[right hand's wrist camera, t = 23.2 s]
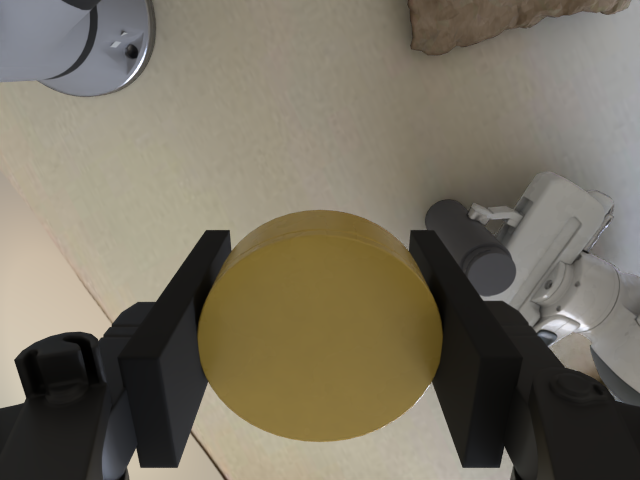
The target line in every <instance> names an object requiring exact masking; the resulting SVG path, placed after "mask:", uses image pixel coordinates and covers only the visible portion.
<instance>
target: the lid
mask: <svg viewBox="0 0 640 480" xmlns="http://www.w3.org/2000/svg"><path fill="white" fill-rule="evenodd" d="M197 340H198V348H199V356H200V363H201V366H202V368H203V371H204V374H205V376H206V378H207V380H208V382H209V384H210V385H211V387H212V389H213V390H214V391H215V393H216V394H217V395H218V397H219V398H220V399H221V400H222V401H223V402H224V403H225V405H226V406H227V407H228V408H229V409H231V410H232V411H233V412H234V413H236V414H237V415H238V416H239V417H241V418H242V419H244V420H245V421H247V422H248V423H250V424H252V425H254V426H256V427H258V428H260V429H262V430H264V431H266V432H269V433H272V434H275V435H277V436H281V437H285V438H289V439H294V440H301V441H311V442H329V441H339V440H346V439H351V438H355V437H359V436H363V435H366V434H368V433H371V432H374V431H376V430H378V429H380V428H382V427H384V426H386V425H388V424H390V423H392V422H393V421H395V420H396V419H398V418H399V417H401V416H402V415H403V414H405V413H406V412H407V411H408V410H409V409H411V408H412V407H413V406H414V405H415V404H416V403H417V401H418V400H419V399H420V398H421V397H422V396H423V394H424V393H425V392H426V390H427V389H428V387H429V386H430V384H431V382H432V380H433V378H434V377H435V374H436V372H437V369H438V366H439V363H440V357H441V350H442V341H443V328H442V321H441V317H440V313H439V309H438V307H437V304H436V302H435V300H434V298H433V296H432V293H431V291H430V289H429V287H428V285H427V283H426V281H425V279H424V277H423V275H422V273H421V271H420V269H419V267H418V265H417V263H416V262H415V260H414V258H413V257H412V255H411V254H410V252H409V251H408V250H407V249H406V248H405V246H404V245H403V244H402V243H401V242H400V241H399V240H398V239H397V238H396V237H394V236H393V235H392V234H391V233H390V232H388V231H387V230H385V229H384V228H382V227H381V226H379V225H377V224H375V223H373V222H371V221H369V220H367V219H365V218H362V217H359V216H356V215H353V214H349V213H344V212H339V211H329V210H311V211H302V212H296V213H291V214H288V215H285V216H281V217H278V218H275V219H273V220H271V221H269V222H267V223H265V224H263V225H261V226H260V227H258V228H257V229H255V230H253V231H252V232H250V233H249V234H248V235H247V236H246V237H245V238H243V239H242V240H241V241H240V242H239V243H238V244H237V245H236V247H235V248H234V249H233V250H232V251H231V253H230V254H229V256H228V257H227V259H226V260H225V262H224V264H223V266H222V268H221V270H220V272H219V274H218V276H217V278H216V280H215V282H214V284H213V286H212V288H211V290H210V292H209V294H208V296H207V298H206V301H205V303H204V305H203V307H202V311H201V314H200V318H199V321H198V330H197Z"/></svg>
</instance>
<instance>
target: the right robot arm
mask: <svg viewBox="0 0 640 480" xmlns="http://www.w3.org/2000/svg"><path fill="white" fill-rule="evenodd" d="M155 33H156V23H155V14H154V8H153V4H152V0H0V82H13V81H32V80H36V81H38V82H40V83H42V84H44V85H45V86H47V87H49V88H51V89H53V90H56V91H58V92H61V93H64V94H67V95H72V96H80V97H92V96H100V95H107V94H111V93H114V92H117V91H119V90H121V89H123V88H125V87H127V86H128V85H130V84H131V83H132V82H133V81H135V80H136V79H137V78H138V77H139V75H140V74H141V73H142V72H143V70H144V69H145V67H146V65H147V64H148V61H149V59H150V57H151V54H152V51H153V47H154V42H155ZM409 252H410V254H411V255H412V257H413V258H414V260H415V262H416V263H417V265H418V267H419V269H420V271H421V273H422V275H423V277H424V279H425V281H426V283H427V285H428V287H429V289H430V291H431V293H432V296H433V298H434V300H435V302H436V304H437V307H438V309H439V313H440V317H441V321H442V328H443V341H442V350H441V357H440V363H439V366H438V369H437V372H436V374H435V377H434V378H433V380H432V383H433V386H434V388H435V391H436V394H437V397H438V400H439V402H440V405H441V408H442V411H443V414H444V417H445V419H446V422H447V425H448V428H449V431H450V433H451V436H452V439H453V442H454V445H455V447H456V450H457V453H458V456H459V459H460V462H461V464H462V467H463V468H500V464H501V459H502V455H503V450H504V446H505V448H506V450H507V452H508V454H509V457H510V459H511V461H512V463H513V470H512V474H511V478H510V480H640V406H635V405H630V404H625V403H622V402H618V401H615V399H614V397H613V396H612V395H611V393H610V392H609V391H608V389H607V388H606V387H605V386H603V385H602V384H601V383H599V382H598V381H597V380H595V379H594V378H592V377H590V376H588V375H586V374H583V373H581V372H579V371H575V370H571V369H568V368H565V367H564V366H563V365H562V363H561V362H560V361H559V360H558V358H557V357H556V356H555V355H554V353H553V352H552V351H551V350H550V349H549V347H548V346H547V345H546V344H545V342H544V341H543V340H542V339H541V338H540V336H537V333H536V331H535V330H534V329H533V328H532V326H529V323H528V322H527V320H526V319H525V318H524V317H523V315H522V314H521V313H520V312H519V311H518V310H516V309H515V308H513V307H512V306H510V305H509V304H507V303H505V302H504V301H483V299H482V298H481V297H480V295H479V294H478V292H477V291H476V289H475V288H474V287H473V285H472V284H471V282H470V281H469V279H468V278H467V276H466V275H465V274H464V272H463V271H462V269H461V268H460V266H459V265H458V264H457V262H456V261H455V259H454V258H453V256H452V255H451V254H450V252H449V251H448V249H447V248H446V246H445V245H444V244H443V242H442V241H441V239H440V238H439V236H438V235H437V234H436V232H435V231H434V230H411V232H410V244H409ZM230 253H231V241H230V230H206V231H205V232H204V234H203V235H202V237H201V238H200V240H199V241H198V243H197V244H196V245H195V247H194V248H193V250H192V251H191V253H190V254H189V255H188V257H187V258H186V260H185V261H184V263H183V264H182V265H181V267H180V268H179V270H178V271H177V273H176V274H175V275H174V277H173V278H172V280H171V281H170V283H169V284H168V285H167V287H166V288H165V290H164V291H163V293H162V294H161V296H160V297H159V298H158V300H157V301H156V302H137V303H136V304H134V305H133V306H131V307H129V308H128V309H126V310H125V311H123V312H122V313H121V314H120V315H119V316H118V318H117V319H116V320H115V321H114V323H113V324H112V327H110V328H109V329H108V330H107V331H106V332H105V334H104V337H103V338H101V339H100V340H99V341H98V339H97V338H96V337H95V336H93V335H92V334H89V333H84V332H67V333H62V334H58V335H54V336H50V337H47V338H45V339H43V340H40V341H38V342H35V343H34V344H32V345H31V346H29V347H27V348H26V349H24V350H23V351H22V352H21V353H20V354H19V355H18V356H17V357H16V359H15V360H14V361H15V364H16V367H17V370H18V373H19V377H20V380H21V383H22V386H23V389H24V392H25V395H26V400H25V402H24V403H22V404H19V405H14V406H10V407H5V408H0V480H129V474H128V470H127V465H128V464H129V461H130V459H131V457H132V455H133V453H134V451H135V449H137V453H138V458H139V463H140V467H141V468H177V467H178V465H179V462H180V459H181V457H182V454H183V451H184V448H185V445H186V443H187V440H188V437H189V434H190V431H191V429H192V426H193V423H194V420H195V417H196V414H197V412H198V409H199V406H200V403H201V400H202V398H203V395H204V392H205V389H206V386H207V383H208V380H207V378H206V376H205V374H204V371H203V368H202V366H201V363H200V356H199V348H198V340H197V330H198V321H199V318H200V314H201V311H202V307H203V305H204V303H205V301H206V298H207V296H208V294H209V292H210V290H211V288H212V286H213V284H214V282H215V280H216V278H217V276H218V274H219V272H220V270H221V268H222V266H223V264H224V262H225V260H226V259H227V257H228V256H229V254H230Z"/></svg>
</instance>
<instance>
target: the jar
mask: <svg viewBox="0 0 640 480" xmlns="http://www.w3.org/2000/svg"><path fill="white" fill-rule="evenodd" d="M467 213H468V210H467V209H466V208H464V207H463V206H462V205H461V204H460V203H459V202H457V201H454V200H442V201H439V202H437V203H436V204H434V205H433V206H432V207H431V208H430V209H429V211H428V213H427V215H426V219H425V223H426V227H427V230H434V231H435V232H436V234H437V235H438V236H439V238H440V239H441V241H442V242H443V244H444V245H445V246H446V248H447V249H448V251H449V252H450V254H451V255H452V256H453V258H454V259H455V261H456V262H457V264H458V265H459V266H460V268H461V269H462V271H463V272H464V274H465V275H466V276H467V278H468V279H469V281H470V282H471V284H472V285H473V287H474V288H475V289H476V291H477V292H478V294H479V295H481V296H484V297H490V296H494V295H498V294H500V293H502V292H504V291H505V290H507V289H508V288H509V287H510V286H511V285H512V283H513V281H514V279H515V277H516V266H515V263H514V261H513V260H512V256H511V254H510V252H509V251H508V249H507V248H506V247H505V246H504V245H503V244H502V243H500V242H499V241H498V240H497V239H496V238H495V237H494V236H493V235H492V234H491V233H490V232H489V231H488V230H487V229H486V228H485V227H484V226H483V225H482V224H480V223H479V222H478V221H477V222H476V221H474V220H472V219H470V218H469V216H467V215H466V214H467Z"/></svg>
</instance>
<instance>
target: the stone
mask: <svg viewBox="0 0 640 480" xmlns="http://www.w3.org/2000/svg"><path fill="white" fill-rule="evenodd" d="M630 2H631V0H408V7H409V9H410V21H411V24H412V36H413V39H412V42H411V45H410V46H411V49H413V50H418V51H422V52H424V53H425V54H427V55H442V54H445V53H448V52H449V51H450V50H451V49H453V48H454V47H455V46H460V47H466V46H469V45H473V44H476V43H479V42H481V41H483V40H486V39H489V38H493V37H495V36H497V35H499V34H500V33H501V32H502V31H504V30H506V29H514V28H518V27H521V28H527V27H528V28H530V27H532V26H534V25H535V24H537V23H538V22H540V21H541V20H542V19H544V18H545V17H547V16H549V17H560V16H563V15H572V14H575V13H578V12H581V11H585V12H593V13H598V12H601V13H602V14H606V15H609V14H615V13H616V12H619V11H622V10H624V9H626V8H628V6H629V4H630Z"/></svg>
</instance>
